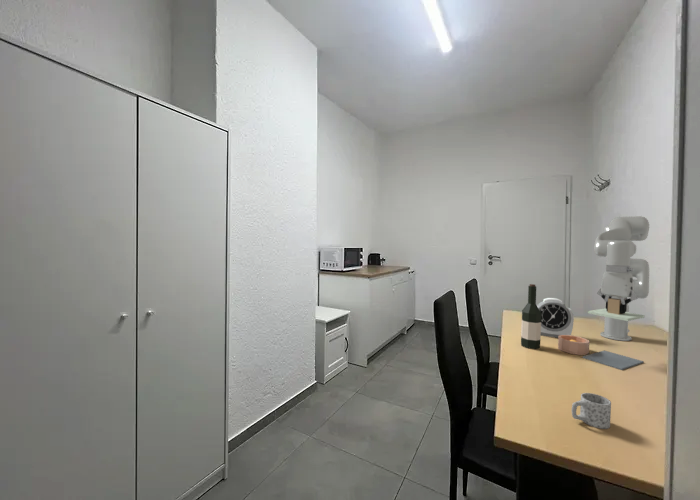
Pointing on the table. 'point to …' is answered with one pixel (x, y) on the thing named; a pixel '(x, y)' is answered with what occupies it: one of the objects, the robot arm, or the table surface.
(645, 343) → the table surface
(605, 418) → the mug
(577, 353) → the bowl
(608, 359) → the mat
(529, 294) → the wine bottle
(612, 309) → the lid
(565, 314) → the alarm clock
